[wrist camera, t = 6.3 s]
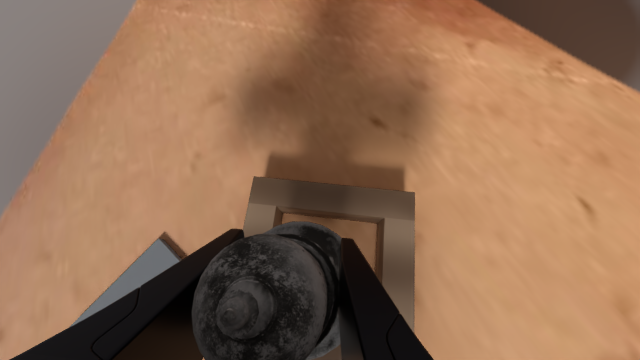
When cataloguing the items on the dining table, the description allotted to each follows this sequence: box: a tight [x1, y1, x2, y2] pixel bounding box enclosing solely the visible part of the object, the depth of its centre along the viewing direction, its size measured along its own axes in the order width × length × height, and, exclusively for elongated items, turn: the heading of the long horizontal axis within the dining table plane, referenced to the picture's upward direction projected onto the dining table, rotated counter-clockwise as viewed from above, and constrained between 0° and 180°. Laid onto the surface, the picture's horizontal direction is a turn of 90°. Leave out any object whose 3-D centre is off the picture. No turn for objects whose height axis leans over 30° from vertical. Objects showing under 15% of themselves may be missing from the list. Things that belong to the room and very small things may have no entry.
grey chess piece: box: [192, 222, 342, 360], centre depth 9 cm, size 6×6×12 cm
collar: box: [243, 176, 415, 360], centre depth 20 cm, size 13×13×3 cm
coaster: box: [70, 238, 182, 327], centre depth 21 cm, size 9×9×1 cm
